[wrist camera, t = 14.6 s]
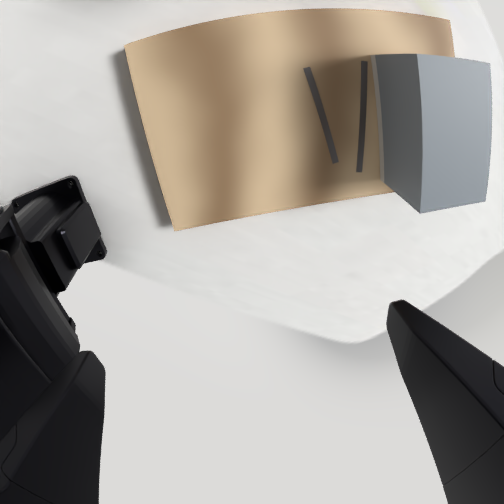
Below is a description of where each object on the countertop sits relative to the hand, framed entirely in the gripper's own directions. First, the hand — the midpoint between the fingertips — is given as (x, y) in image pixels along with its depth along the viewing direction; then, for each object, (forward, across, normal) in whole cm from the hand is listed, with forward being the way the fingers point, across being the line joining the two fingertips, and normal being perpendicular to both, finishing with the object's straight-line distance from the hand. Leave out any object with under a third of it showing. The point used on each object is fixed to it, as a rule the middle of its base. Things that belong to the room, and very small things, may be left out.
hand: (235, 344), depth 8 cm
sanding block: (+12, -12, -3) cm, 17 cm away
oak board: (+13, -6, -4) cm, 15 cm away
